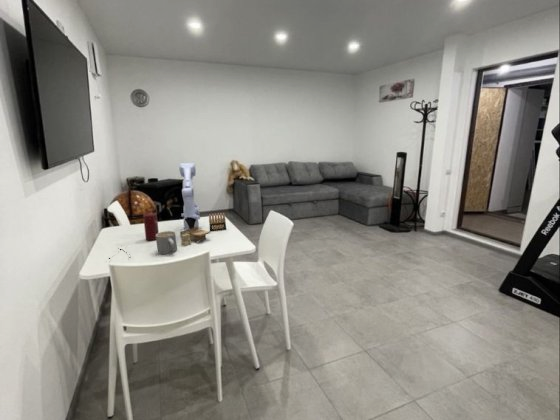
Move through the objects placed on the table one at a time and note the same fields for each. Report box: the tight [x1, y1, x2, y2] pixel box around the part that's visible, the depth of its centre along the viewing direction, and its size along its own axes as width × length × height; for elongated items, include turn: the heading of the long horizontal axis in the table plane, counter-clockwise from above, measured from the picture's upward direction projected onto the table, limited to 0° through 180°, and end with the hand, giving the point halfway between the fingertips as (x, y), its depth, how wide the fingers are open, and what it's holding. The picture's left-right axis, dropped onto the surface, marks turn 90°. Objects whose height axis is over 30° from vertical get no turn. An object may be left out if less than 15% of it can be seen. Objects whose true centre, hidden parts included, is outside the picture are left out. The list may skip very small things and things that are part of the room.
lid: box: [183, 226, 211, 237], centre depth 179 cm, size 15×8×3 cm, turn 56°
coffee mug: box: [155, 230, 178, 256], centre depth 160 cm, size 13×10×10 cm
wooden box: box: [179, 229, 207, 243], centre depth 182 cm, size 14×8×4 cm, turn 56°
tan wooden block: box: [180, 233, 192, 247], centre depth 171 cm, size 4×4×6 cm
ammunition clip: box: [208, 212, 227, 233], centre depth 195 cm, size 11×2×12 cm, turn 108°
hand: (191, 229), depth 181 cm, fingers closed
